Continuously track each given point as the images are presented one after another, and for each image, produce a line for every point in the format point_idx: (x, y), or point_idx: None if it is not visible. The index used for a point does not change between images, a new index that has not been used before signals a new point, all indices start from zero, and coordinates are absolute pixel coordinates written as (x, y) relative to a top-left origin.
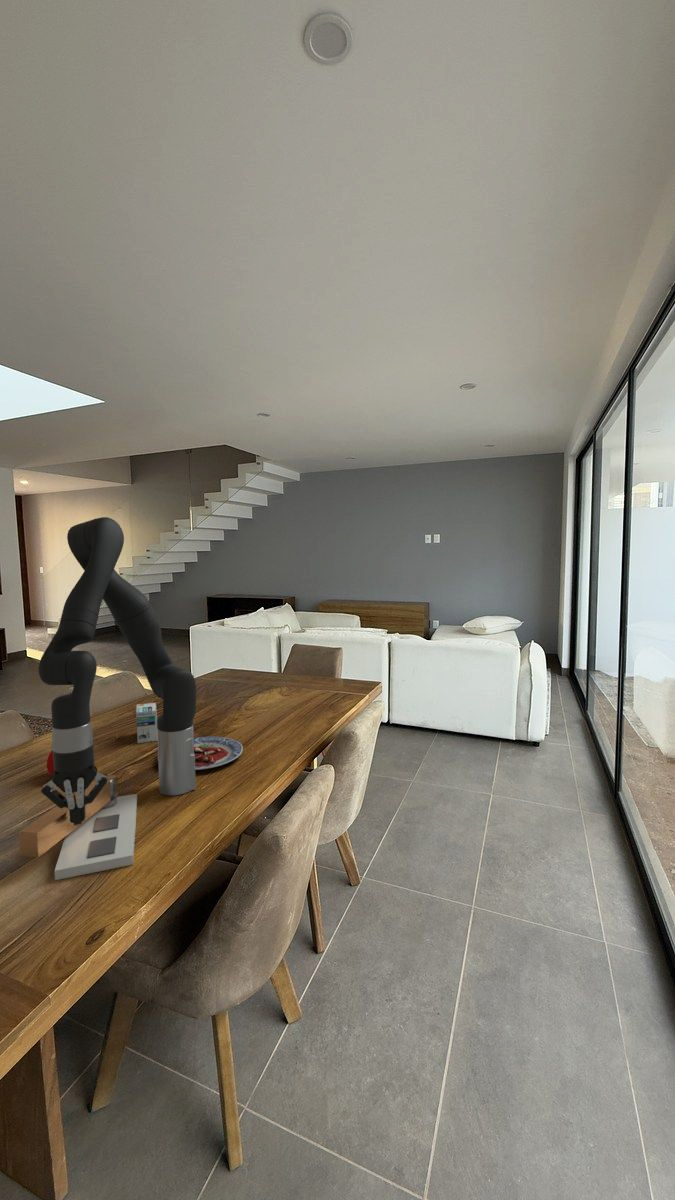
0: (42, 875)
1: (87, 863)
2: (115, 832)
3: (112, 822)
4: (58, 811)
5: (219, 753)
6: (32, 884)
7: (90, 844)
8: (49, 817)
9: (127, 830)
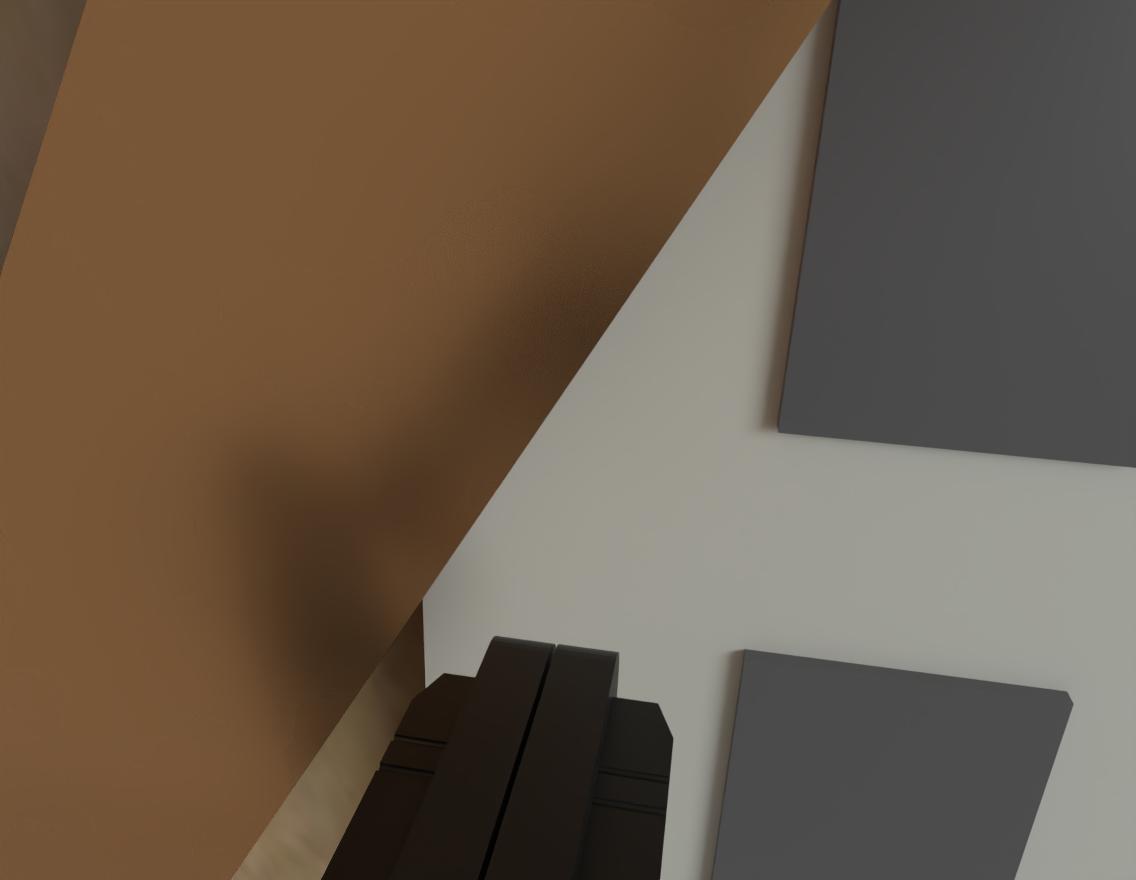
0: (345, 741)
1: None
2: (1081, 556)
3: (1105, 280)
4: (109, 696)
5: None
6: (301, 813)
7: (739, 726)
8: (28, 836)
9: None
